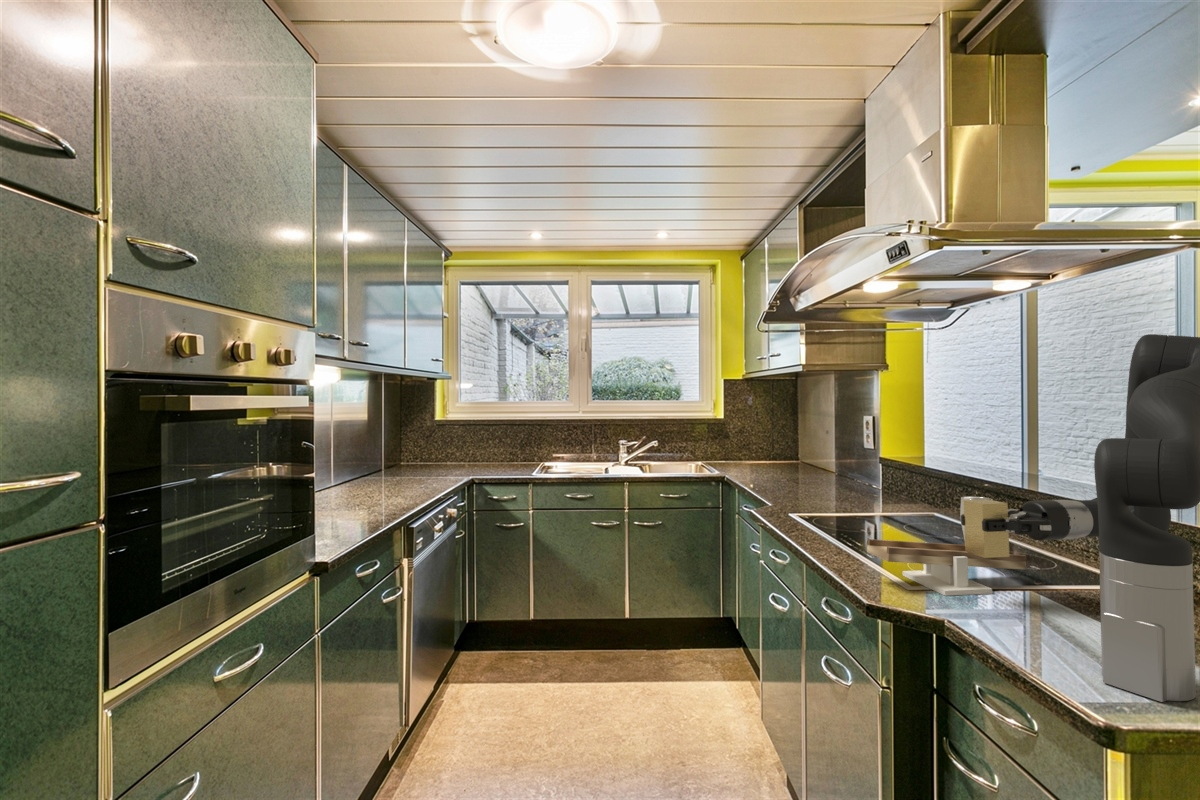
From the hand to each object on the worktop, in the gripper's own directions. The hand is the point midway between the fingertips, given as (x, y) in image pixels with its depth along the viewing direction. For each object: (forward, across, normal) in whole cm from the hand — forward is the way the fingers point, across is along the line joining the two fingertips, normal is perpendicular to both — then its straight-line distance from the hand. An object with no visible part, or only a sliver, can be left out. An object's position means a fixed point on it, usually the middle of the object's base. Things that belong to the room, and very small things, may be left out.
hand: (973, 522), depth 111 cm
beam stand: (-3, -12, +15) cm, 20 cm away
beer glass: (-24, -30, +16) cm, 41 cm away
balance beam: (-3, -12, +10) cm, 16 cm away
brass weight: (-3, 0, +6) cm, 7 cm away
